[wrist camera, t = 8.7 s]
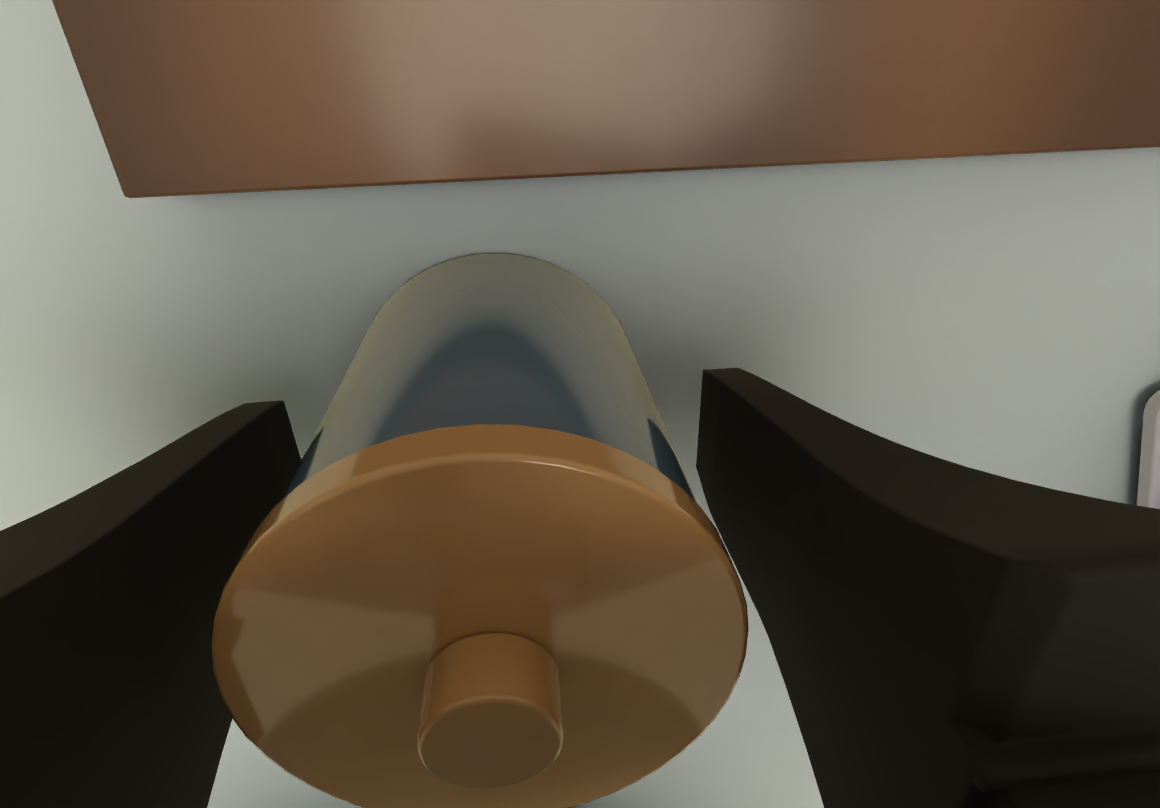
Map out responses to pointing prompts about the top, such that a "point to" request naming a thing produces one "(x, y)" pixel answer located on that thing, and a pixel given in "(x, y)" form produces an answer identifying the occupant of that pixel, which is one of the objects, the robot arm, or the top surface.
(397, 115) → the cutting board
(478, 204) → the top surface
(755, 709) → the top surface
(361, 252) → the top surface
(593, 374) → the sugar pot
